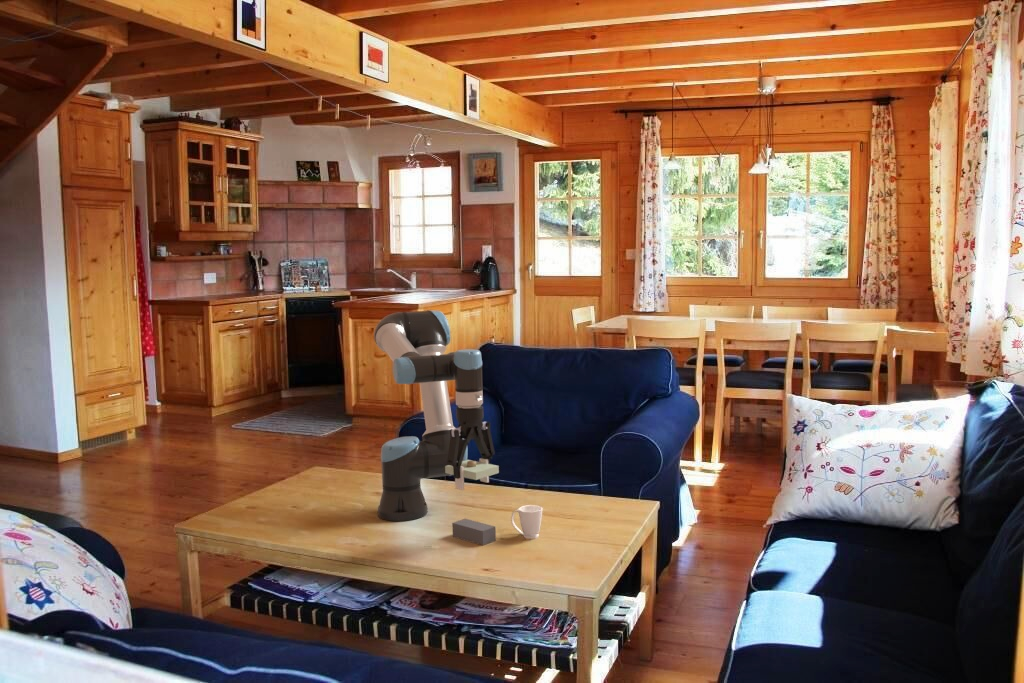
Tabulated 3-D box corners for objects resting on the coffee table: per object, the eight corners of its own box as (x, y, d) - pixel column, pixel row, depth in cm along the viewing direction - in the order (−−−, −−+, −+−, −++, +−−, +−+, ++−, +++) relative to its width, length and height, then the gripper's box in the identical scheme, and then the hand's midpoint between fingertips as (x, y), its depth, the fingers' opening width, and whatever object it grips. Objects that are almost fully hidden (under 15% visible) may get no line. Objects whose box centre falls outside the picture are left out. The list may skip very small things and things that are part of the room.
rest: (452, 536, 246) (452, 522, 246) (465, 532, 250) (465, 518, 249) (483, 545, 238) (482, 531, 238) (495, 540, 242) (495, 526, 241)
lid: (445, 473, 243) (444, 461, 242) (468, 466, 249) (467, 455, 249) (476, 479, 235) (475, 468, 234) (498, 472, 241) (498, 461, 241)
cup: (534, 542, 240) (534, 513, 239) (505, 536, 245) (504, 508, 245) (548, 534, 245) (547, 506, 245) (519, 529, 251) (518, 501, 250)
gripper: (450, 413, 230) (453, 496, 232) (506, 401, 245) (508, 479, 248) (431, 410, 235) (434, 491, 237) (487, 398, 251) (489, 475, 253)
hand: (472, 485), depth 243 cm, fingers closed on lid, 9 cm apart
